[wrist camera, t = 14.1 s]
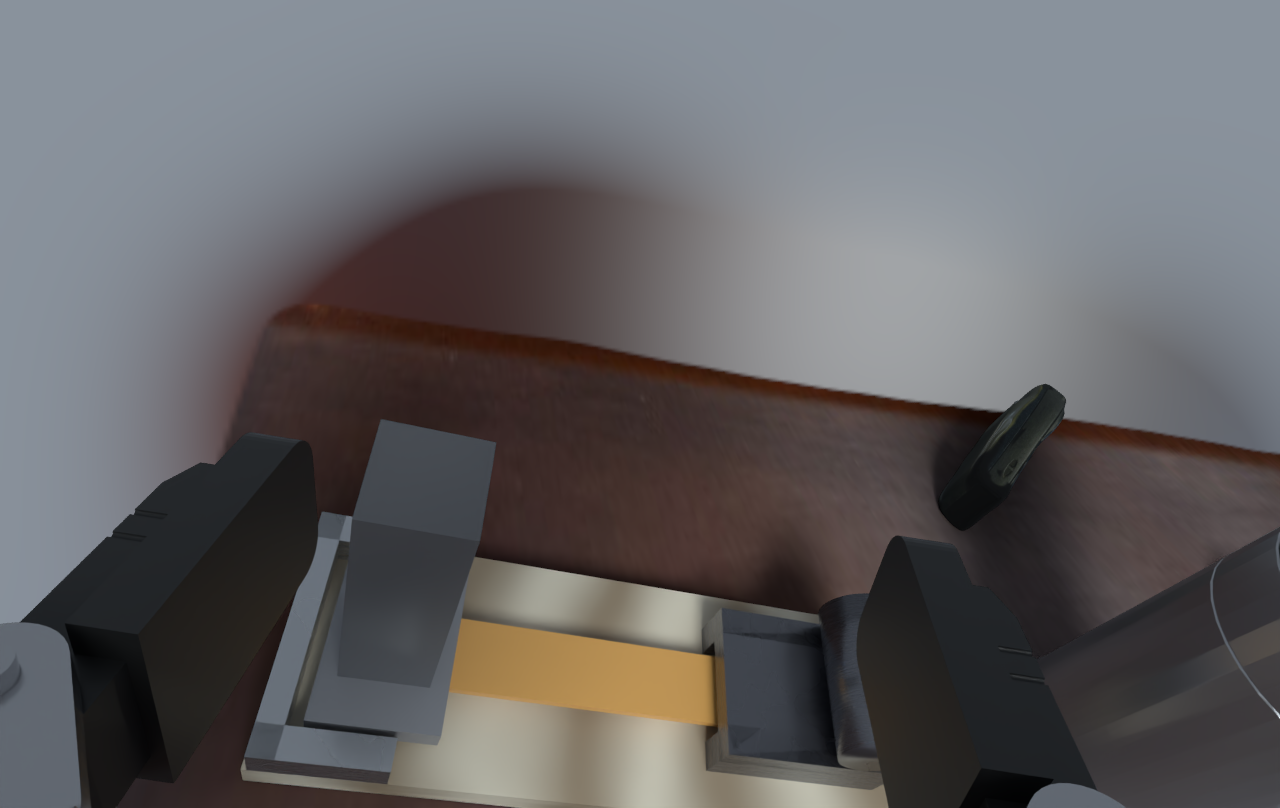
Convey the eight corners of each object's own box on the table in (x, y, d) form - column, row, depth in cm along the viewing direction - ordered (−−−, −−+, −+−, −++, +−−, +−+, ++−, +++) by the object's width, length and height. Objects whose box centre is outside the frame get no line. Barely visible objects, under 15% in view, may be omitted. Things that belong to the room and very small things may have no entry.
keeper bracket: (435, 550, 37) (440, 532, 35) (387, 784, 30) (390, 772, 29) (321, 530, 36) (322, 511, 34) (246, 770, 29) (244, 757, 28)
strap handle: (714, 622, 39) (853, 474, 29) (721, 778, 34) (888, 664, 24) (349, 564, 35) (368, 370, 25) (303, 730, 30) (305, 572, 21)
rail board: (847, 633, 43) (861, 622, 42) (879, 843, 36) (898, 836, 35) (316, 546, 37) (316, 530, 35) (242, 780, 30) (240, 769, 29)
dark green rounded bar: (1014, 503, 46) (1086, 384, 56) (972, 468, 47) (1050, 356, 56) (963, 543, 50) (1038, 424, 60) (924, 510, 51) (1004, 398, 60)
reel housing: (849, 652, 40) (918, 601, 36) (871, 790, 36) (951, 751, 32) (701, 629, 38) (754, 572, 34) (705, 770, 34) (766, 726, 30)
